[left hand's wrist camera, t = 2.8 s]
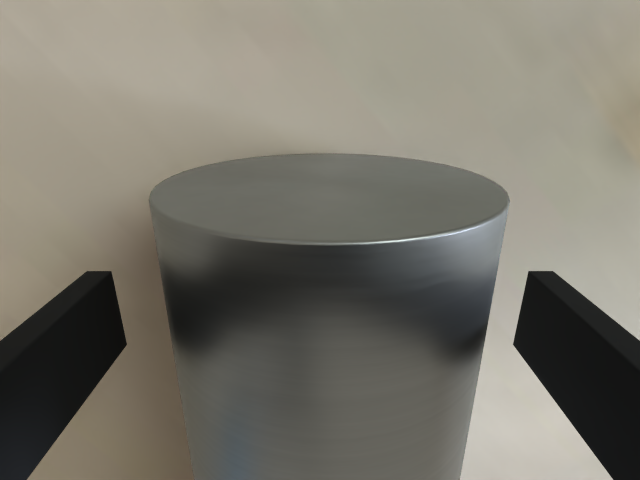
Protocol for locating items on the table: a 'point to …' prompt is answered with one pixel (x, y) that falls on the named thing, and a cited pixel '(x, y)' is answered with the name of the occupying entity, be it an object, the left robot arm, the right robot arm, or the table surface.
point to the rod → (328, 312)
